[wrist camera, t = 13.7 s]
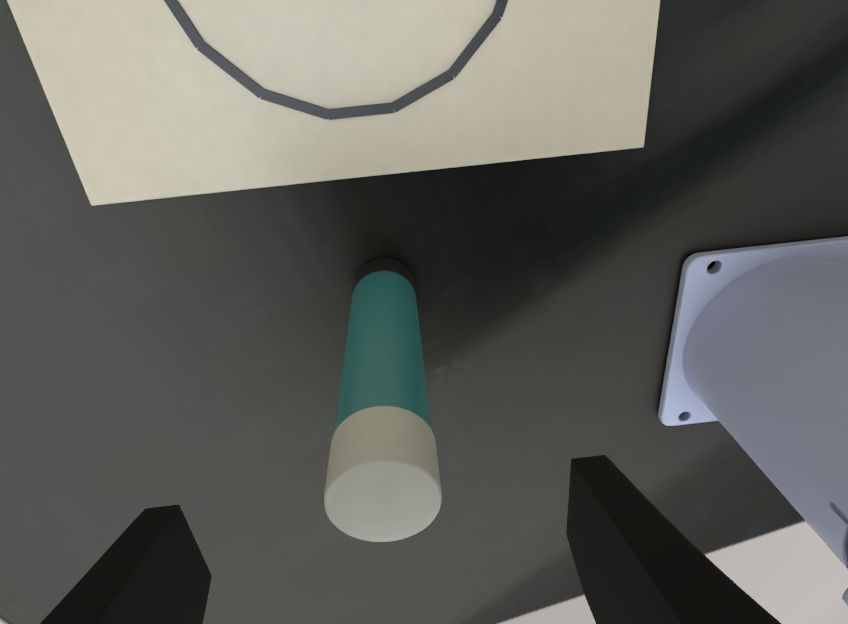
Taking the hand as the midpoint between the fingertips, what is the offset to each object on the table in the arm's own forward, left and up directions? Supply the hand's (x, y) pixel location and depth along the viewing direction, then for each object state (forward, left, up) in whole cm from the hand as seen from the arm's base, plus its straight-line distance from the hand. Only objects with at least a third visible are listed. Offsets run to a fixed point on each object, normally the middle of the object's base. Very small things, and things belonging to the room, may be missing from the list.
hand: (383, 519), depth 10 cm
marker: (0, 0, -10) cm, 10 cm away
